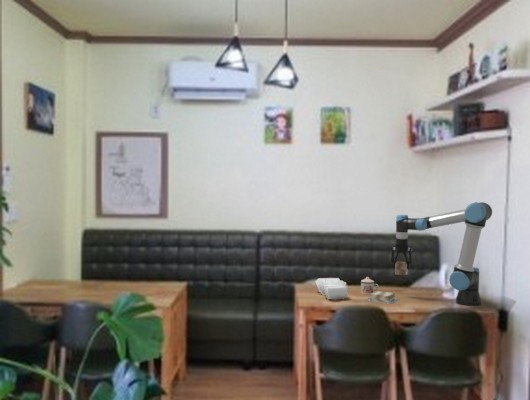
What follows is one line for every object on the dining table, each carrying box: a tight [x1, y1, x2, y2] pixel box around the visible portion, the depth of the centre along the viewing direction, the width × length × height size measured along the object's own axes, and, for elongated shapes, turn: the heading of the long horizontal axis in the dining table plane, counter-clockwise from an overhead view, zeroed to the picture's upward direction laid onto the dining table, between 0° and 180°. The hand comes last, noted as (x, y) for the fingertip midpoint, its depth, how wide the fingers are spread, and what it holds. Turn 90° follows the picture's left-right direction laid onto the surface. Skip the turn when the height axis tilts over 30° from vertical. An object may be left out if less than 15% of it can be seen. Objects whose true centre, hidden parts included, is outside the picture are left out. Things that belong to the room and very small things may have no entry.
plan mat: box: [364, 297, 400, 304], centre depth 351 cm, size 18×16×1 cm
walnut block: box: [395, 260, 407, 276], centre depth 361 cm, size 6×6×8 cm
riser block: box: [369, 290, 396, 304], centre depth 351 cm, size 12×12×4 cm
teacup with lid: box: [360, 276, 380, 296], centre depth 371 cm, size 12×9×12 cm
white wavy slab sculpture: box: [314, 277, 349, 300], centre depth 363 cm, size 35×16×10 cm, turn 6°
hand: (401, 273), depth 361 cm, fingers closed on walnut block, 6 cm apart
